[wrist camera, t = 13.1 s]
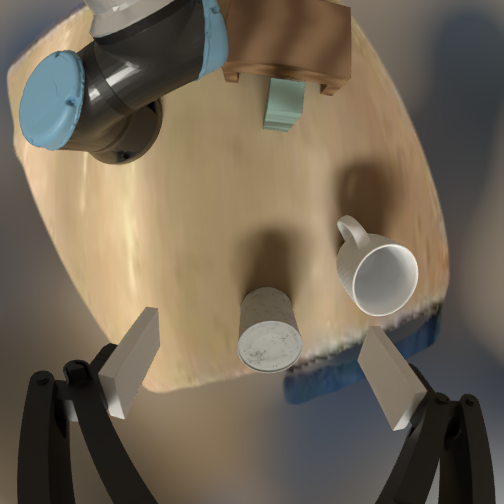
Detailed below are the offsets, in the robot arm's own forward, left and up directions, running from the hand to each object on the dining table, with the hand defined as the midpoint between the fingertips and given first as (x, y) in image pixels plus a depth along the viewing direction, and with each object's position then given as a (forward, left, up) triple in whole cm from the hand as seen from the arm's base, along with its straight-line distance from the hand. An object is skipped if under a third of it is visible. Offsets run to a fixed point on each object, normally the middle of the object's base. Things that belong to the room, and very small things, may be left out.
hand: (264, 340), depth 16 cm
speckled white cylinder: (+8, -12, -32) cm, 35 cm away
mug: (+17, +5, -32) cm, 36 cm away
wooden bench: (-10, +31, -32) cm, 45 cm away
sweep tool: (-9, +28, -32) cm, 43 cm away
